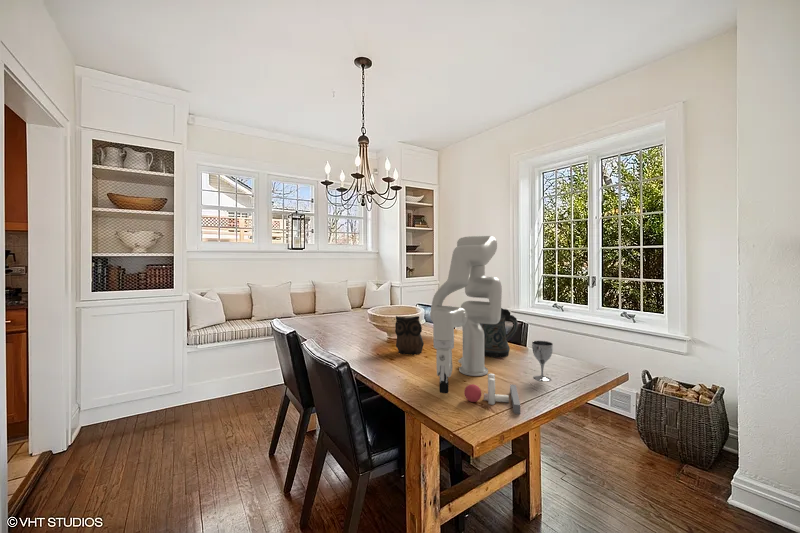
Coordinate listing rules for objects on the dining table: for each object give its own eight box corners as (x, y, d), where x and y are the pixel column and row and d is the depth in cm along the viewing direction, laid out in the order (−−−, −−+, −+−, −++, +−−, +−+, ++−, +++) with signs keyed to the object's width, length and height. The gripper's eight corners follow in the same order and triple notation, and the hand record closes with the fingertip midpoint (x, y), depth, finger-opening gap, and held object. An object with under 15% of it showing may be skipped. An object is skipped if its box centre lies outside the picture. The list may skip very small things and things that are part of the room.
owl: (424, 353, 185) (424, 316, 185) (403, 357, 179) (403, 318, 179) (412, 348, 196) (412, 312, 196) (392, 351, 191) (392, 314, 190)
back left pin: (486, 397, 129) (486, 374, 129) (491, 395, 130) (491, 373, 130) (491, 399, 127) (491, 376, 127) (496, 397, 128) (496, 374, 128)
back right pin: (486, 402, 124) (486, 379, 124) (491, 401, 125) (491, 377, 125) (491, 405, 122) (491, 381, 122) (496, 403, 123) (496, 379, 123)
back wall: (520, 414, 115) (520, 405, 115) (513, 413, 116) (513, 404, 116) (515, 392, 133) (515, 384, 133) (510, 392, 133) (510, 384, 133)
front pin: (483, 392, 127) (508, 394, 124) (484, 394, 128) (508, 396, 126) (483, 398, 125) (508, 401, 123) (484, 401, 127) (508, 403, 125)
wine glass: (540, 382, 142) (540, 346, 142) (528, 376, 150) (528, 341, 150) (556, 380, 145) (557, 344, 144) (544, 374, 152) (544, 340, 152)
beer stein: (473, 349, 193) (473, 304, 192) (508, 348, 194) (508, 303, 193) (482, 358, 176) (482, 308, 175) (520, 357, 178) (520, 307, 177)
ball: (485, 401, 125) (470, 405, 127) (482, 384, 128) (467, 388, 131) (478, 398, 120) (463, 402, 123) (475, 380, 124) (460, 384, 126)
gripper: (452, 349, 121) (452, 401, 122) (455, 338, 136) (455, 385, 137) (430, 348, 123) (430, 399, 124) (436, 338, 138) (436, 384, 138)
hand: (444, 392), depth 130 cm, fingers closed
